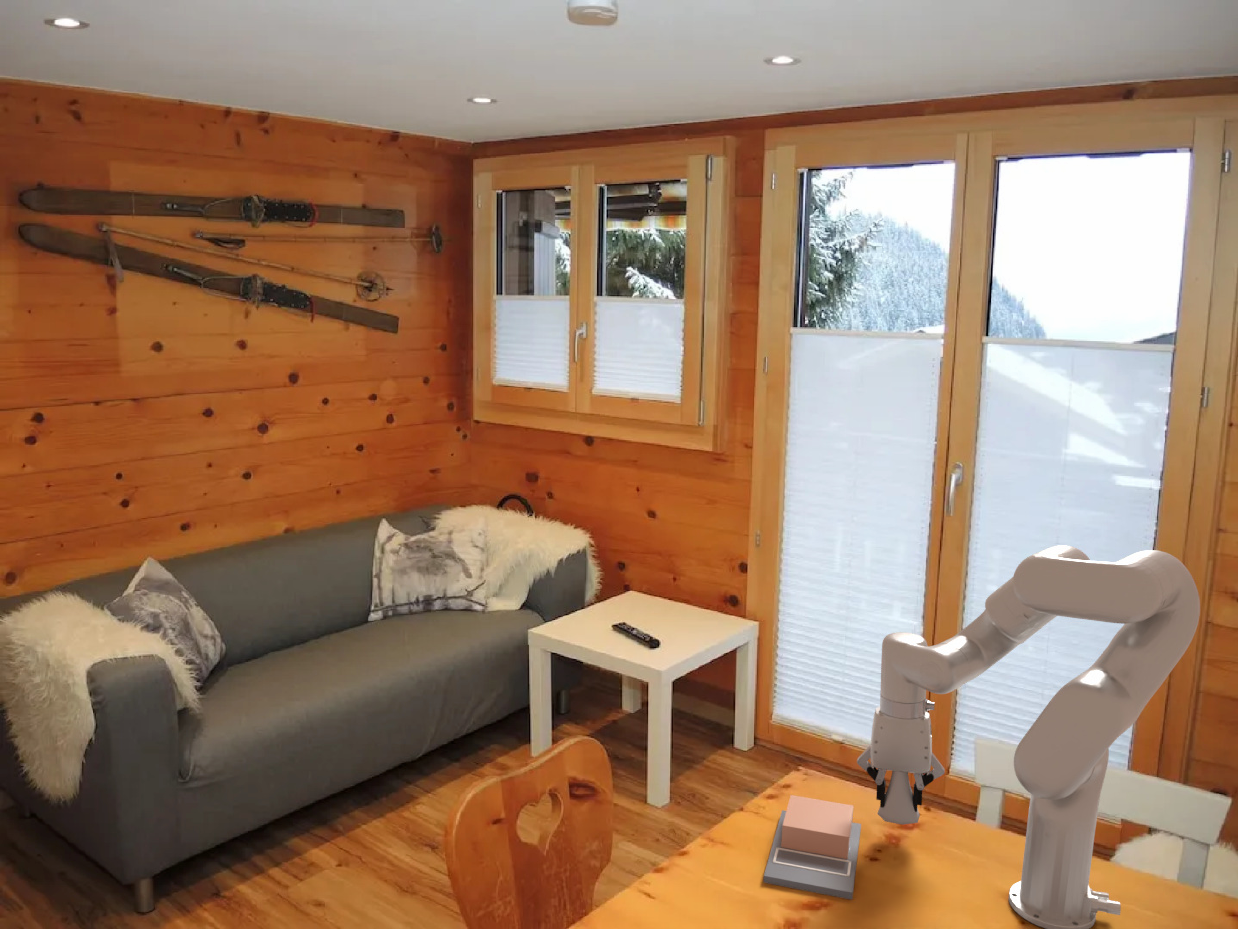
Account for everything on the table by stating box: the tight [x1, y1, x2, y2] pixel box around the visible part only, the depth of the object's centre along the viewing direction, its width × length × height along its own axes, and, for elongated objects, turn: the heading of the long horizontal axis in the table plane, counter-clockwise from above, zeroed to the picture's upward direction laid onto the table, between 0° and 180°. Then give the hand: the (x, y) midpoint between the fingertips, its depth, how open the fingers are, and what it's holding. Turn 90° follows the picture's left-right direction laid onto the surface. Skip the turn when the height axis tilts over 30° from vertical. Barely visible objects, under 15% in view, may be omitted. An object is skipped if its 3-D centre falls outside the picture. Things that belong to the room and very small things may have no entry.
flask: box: [877, 771, 920, 825], centre depth 176 cm, size 7×7×10 cm
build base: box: [763, 794, 862, 900], centre depth 172 cm, size 14×22×5 cm, turn 163°
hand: (898, 805), depth 176 cm, fingers closed on flask, 4 cm apart
